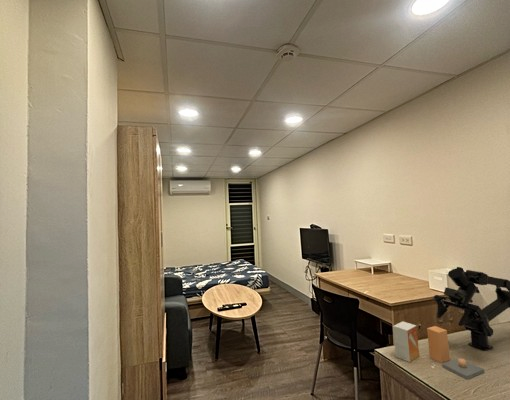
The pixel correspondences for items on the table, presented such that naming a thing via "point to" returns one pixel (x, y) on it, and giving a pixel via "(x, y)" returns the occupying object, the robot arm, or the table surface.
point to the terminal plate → (463, 368)
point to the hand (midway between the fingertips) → (448, 321)
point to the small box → (406, 341)
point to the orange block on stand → (438, 344)
